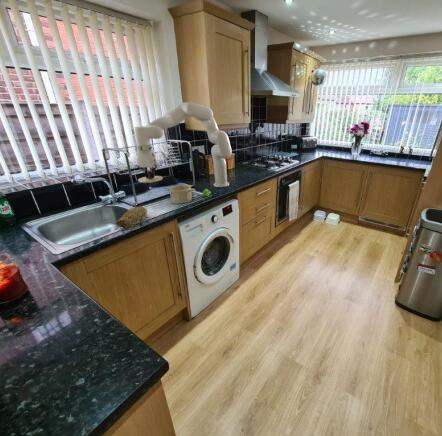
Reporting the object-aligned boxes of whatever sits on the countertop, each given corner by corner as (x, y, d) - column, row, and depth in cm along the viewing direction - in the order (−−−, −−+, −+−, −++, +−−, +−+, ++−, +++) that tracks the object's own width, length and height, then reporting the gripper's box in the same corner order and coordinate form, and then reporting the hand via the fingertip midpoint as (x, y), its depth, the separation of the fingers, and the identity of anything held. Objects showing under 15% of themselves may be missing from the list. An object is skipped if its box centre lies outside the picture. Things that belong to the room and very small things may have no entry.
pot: (173, 196, 172) (171, 184, 169) (198, 196, 170) (197, 185, 167) (164, 202, 160) (161, 190, 157) (191, 203, 158) (190, 191, 154)
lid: (146, 177, 163) (144, 168, 160) (166, 177, 161) (165, 168, 159) (133, 183, 149) (131, 173, 147) (155, 184, 148) (154, 173, 145)
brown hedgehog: (134, 232, 125) (156, 210, 140) (125, 220, 120) (150, 199, 136) (115, 233, 129) (139, 212, 145) (107, 221, 125) (132, 201, 140)
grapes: (204, 193, 176) (204, 187, 174) (211, 194, 176) (210, 187, 174) (200, 198, 168) (199, 191, 166) (207, 198, 167) (206, 192, 165)
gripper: (160, 147, 150) (165, 176, 157) (135, 147, 151) (141, 176, 159) (153, 149, 143) (159, 179, 150) (128, 149, 145) (135, 179, 152)
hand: (150, 177), depth 155 cm, fingers closed on lid, 2 cm apart
